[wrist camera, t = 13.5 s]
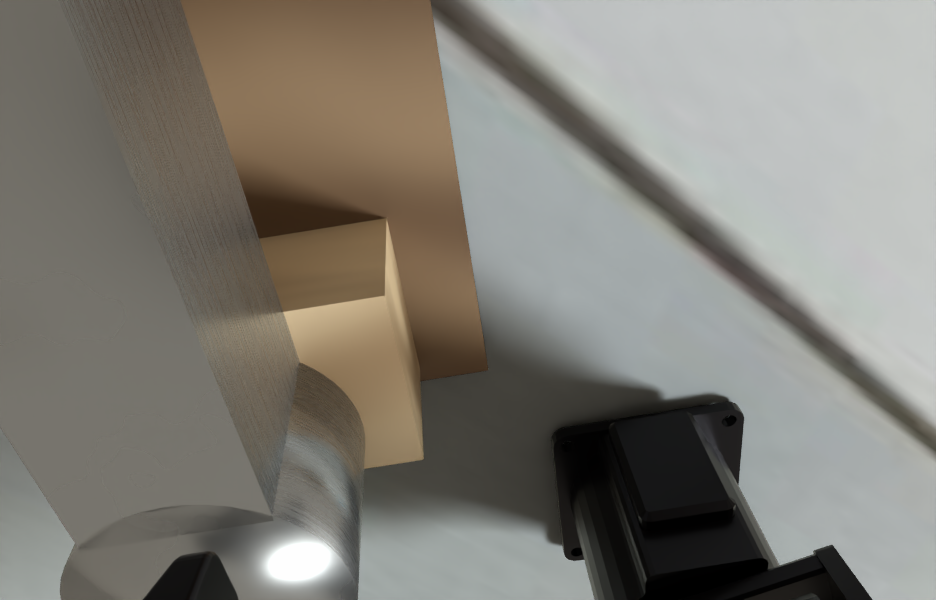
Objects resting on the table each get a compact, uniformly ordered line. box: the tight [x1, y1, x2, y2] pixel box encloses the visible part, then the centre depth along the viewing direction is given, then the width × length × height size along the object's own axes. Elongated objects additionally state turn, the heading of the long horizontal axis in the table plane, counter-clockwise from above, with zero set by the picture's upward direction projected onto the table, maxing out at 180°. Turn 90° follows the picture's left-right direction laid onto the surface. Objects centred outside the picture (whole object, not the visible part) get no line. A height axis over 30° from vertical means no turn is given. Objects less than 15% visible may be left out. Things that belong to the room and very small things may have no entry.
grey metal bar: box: [0, 0, 365, 600], centre depth 11 cm, size 26×6×4 cm, turn 8°
